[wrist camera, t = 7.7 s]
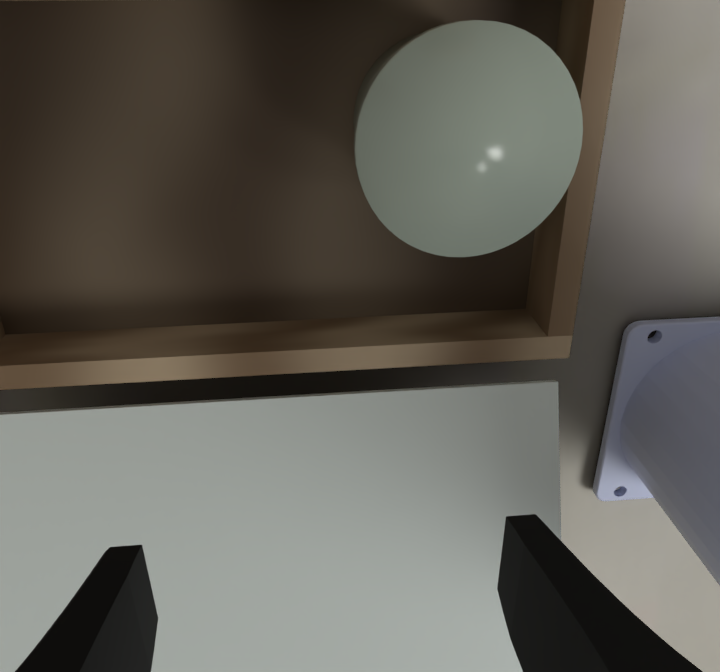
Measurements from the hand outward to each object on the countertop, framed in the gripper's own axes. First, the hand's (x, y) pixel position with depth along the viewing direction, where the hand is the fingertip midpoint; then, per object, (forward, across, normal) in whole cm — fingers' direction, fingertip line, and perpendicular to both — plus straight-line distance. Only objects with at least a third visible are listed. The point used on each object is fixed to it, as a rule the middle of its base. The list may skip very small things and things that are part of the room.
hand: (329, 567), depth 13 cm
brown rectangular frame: (+10, +1, -1) cm, 11 cm away
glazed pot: (+10, -4, -7) cm, 13 cm away
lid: (+5, +1, +5) cm, 8 cm away
